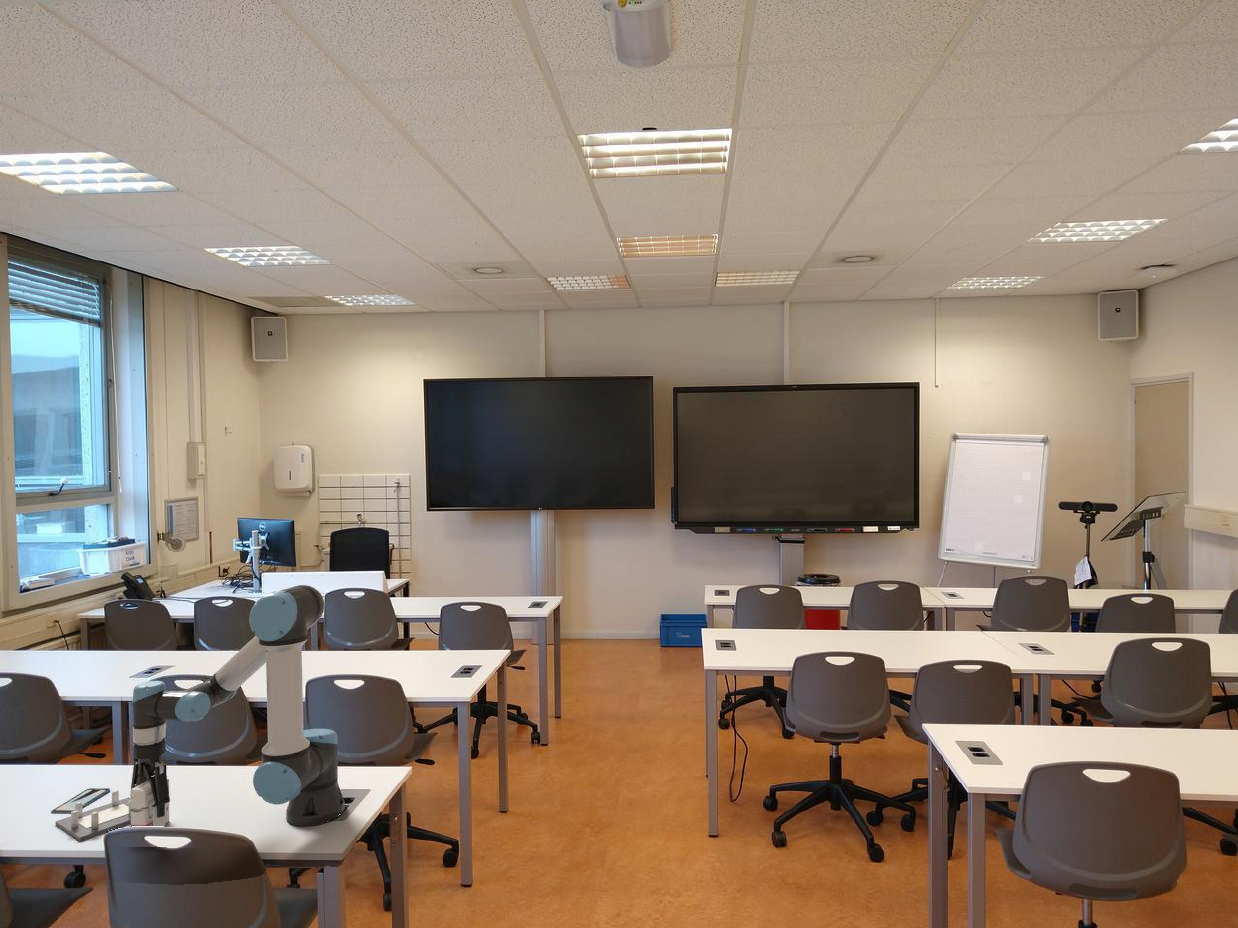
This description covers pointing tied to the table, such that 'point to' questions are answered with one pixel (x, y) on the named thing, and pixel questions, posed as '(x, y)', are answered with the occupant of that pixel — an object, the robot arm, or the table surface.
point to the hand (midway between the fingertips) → (150, 822)
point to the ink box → (144, 805)
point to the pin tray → (102, 827)
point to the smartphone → (81, 799)
